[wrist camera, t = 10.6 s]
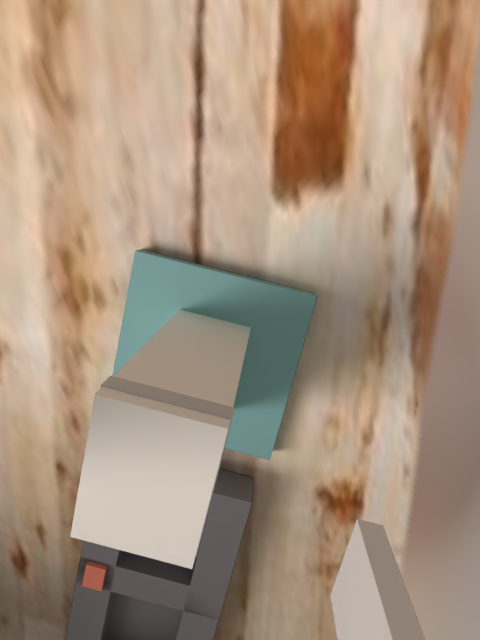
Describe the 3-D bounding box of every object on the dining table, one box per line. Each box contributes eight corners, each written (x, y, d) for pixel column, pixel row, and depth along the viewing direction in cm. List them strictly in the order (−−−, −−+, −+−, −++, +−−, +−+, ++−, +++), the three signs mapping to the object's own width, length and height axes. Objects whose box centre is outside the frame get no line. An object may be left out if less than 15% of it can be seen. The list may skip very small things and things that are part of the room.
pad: (270, 451, 27) (269, 460, 26) (110, 410, 28) (104, 417, 27) (315, 293, 25) (316, 296, 24) (140, 249, 25) (135, 250, 24)
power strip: (201, 662, 32) (194, 705, 29) (77, 629, 32) (58, 668, 29) (253, 477, 28) (251, 506, 25) (113, 440, 28) (95, 465, 25)
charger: (230, 410, 26) (193, 571, 14) (161, 392, 26) (68, 537, 14) (252, 326, 25) (230, 427, 13) (179, 308, 25) (93, 392, 13)
